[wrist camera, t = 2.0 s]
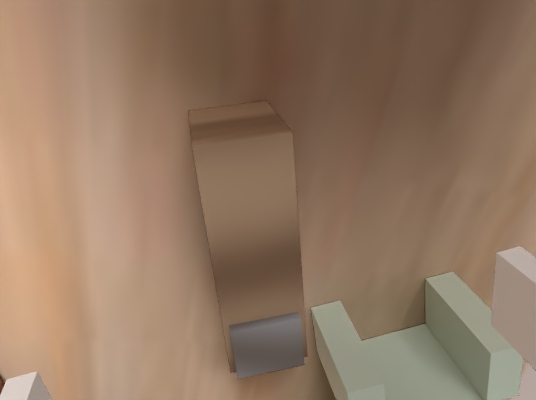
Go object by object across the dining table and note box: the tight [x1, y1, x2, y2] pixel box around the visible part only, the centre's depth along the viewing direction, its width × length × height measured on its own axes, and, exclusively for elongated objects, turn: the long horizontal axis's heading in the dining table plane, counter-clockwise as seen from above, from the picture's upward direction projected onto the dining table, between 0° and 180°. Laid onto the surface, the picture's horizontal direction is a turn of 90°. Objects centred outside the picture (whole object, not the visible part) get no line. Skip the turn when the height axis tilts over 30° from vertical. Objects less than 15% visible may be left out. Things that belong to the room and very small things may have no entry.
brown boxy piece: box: [188, 100, 308, 379], centre depth 23 cm, size 12×4×6 cm, turn 6°
